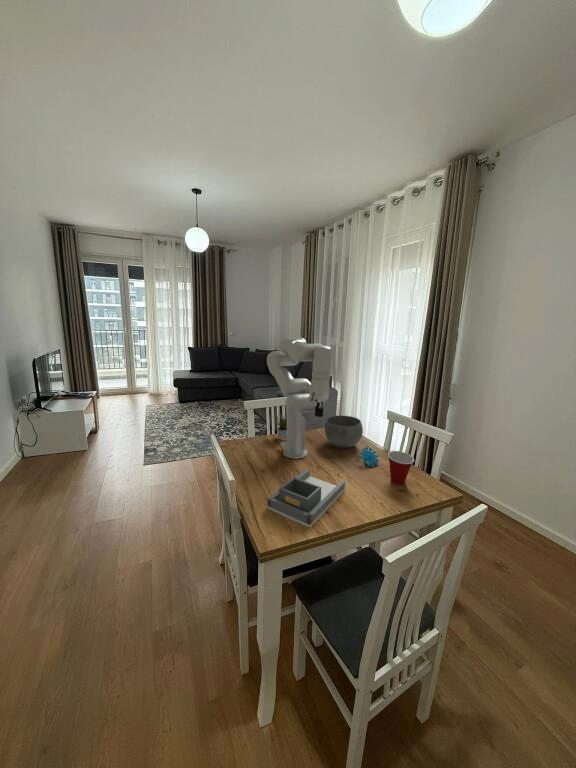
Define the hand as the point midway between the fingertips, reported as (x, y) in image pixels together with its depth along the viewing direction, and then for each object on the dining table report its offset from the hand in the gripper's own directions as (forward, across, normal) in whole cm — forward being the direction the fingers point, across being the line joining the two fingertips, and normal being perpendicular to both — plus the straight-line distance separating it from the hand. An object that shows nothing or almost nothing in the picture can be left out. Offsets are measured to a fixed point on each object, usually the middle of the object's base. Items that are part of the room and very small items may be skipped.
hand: (318, 416), depth 134 cm
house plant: (+28, -22, -36) cm, 50 cm away
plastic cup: (+27, -14, +33) cm, 45 cm away
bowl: (+27, -35, -3) cm, 45 cm away
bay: (+26, +21, +9) cm, 35 cm away
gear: (+27, -23, +17) cm, 39 cm away
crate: (+25, +27, +9) cm, 38 cm away
